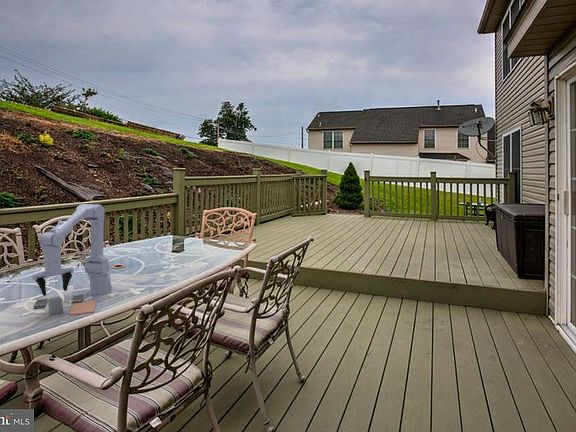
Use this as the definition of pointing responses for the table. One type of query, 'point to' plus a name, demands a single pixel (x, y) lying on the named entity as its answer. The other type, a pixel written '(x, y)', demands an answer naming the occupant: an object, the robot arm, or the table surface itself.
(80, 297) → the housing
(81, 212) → the robot arm
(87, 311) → the mat
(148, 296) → the table surface
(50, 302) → the plug
